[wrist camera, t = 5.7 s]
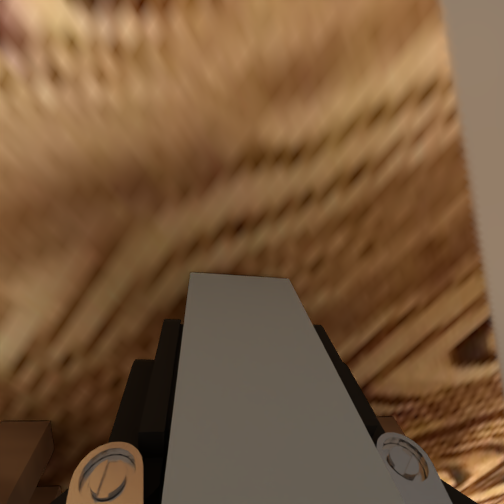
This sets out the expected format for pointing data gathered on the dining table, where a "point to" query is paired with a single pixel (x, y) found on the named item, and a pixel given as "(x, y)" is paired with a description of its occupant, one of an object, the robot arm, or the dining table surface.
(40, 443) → the stand
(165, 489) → the grey block
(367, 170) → the dining table surface
